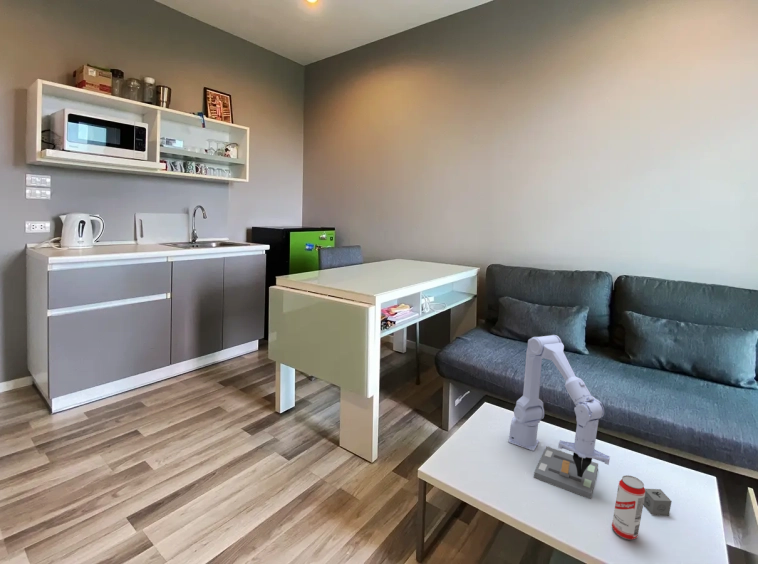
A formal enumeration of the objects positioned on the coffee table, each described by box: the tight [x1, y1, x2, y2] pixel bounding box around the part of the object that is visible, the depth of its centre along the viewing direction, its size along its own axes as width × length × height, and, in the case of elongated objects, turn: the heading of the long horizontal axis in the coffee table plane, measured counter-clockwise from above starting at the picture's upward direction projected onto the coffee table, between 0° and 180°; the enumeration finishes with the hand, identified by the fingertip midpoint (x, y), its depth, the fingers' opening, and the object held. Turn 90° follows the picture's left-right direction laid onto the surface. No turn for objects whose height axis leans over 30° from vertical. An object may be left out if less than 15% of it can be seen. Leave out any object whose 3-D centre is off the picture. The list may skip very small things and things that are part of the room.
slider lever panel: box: [533, 445, 599, 500], centre depth 137 cm, size 17×18×2 cm
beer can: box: [611, 474, 646, 541], centre depth 111 cm, size 6×6×16 cm
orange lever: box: [559, 460, 570, 478], centre depth 133 cm, size 3×2×4 cm
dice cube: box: [643, 487, 672, 517], centre depth 121 cm, size 5×5×5 cm
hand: (580, 475), depth 130 cm, fingers closed
